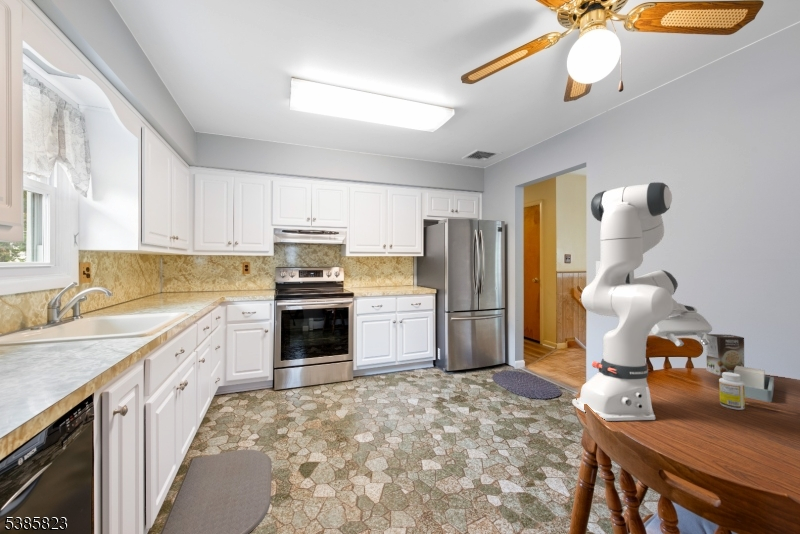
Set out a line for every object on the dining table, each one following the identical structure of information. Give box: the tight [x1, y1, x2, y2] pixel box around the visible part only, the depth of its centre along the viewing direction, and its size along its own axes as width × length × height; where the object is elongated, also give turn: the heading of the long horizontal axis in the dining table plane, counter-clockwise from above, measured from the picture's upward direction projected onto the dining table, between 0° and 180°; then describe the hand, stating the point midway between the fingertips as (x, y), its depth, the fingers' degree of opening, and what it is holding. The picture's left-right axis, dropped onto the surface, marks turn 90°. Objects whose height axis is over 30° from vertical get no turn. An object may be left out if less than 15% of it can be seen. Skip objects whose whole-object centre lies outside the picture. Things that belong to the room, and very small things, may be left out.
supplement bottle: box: [718, 372, 746, 411], centre depth 101 cm, size 6×6×10 cm
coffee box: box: [706, 333, 745, 377], centre depth 129 cm, size 9×6×16 cm
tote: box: [728, 370, 775, 403], centre depth 112 cm, size 20×11×4 cm, turn 129°
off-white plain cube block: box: [734, 366, 766, 389], centre depth 115 cm, size 6×7×6 cm
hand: (693, 344), depth 113 cm, fingers open, 8 cm apart
